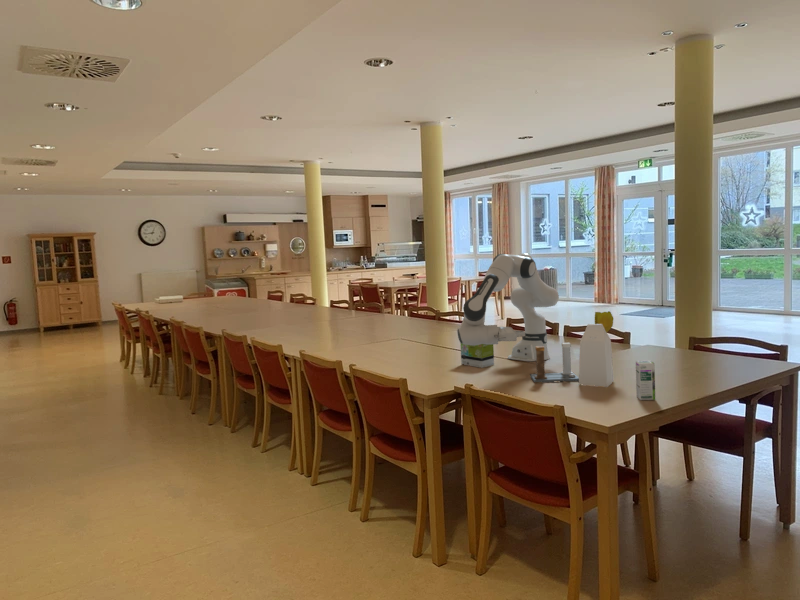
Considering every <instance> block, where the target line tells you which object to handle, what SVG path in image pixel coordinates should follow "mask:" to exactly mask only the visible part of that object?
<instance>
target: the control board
mask: <svg viewBox="0 0 800 600" xmlns="http://www.w3.org/2000/svg"><path fill="white" fill-rule="evenodd" d="M545 375H546V376H547V379H536V378H535V376H537V373H530V374H529V377H530V379H531V380H532V381H533V383H535V382H542V383H554V382H553V381H571V382H579V375H576V374H575V373H574V372H573V374H569V375H562V374H561V372H549V373H545ZM535 384H536V383H535Z"/></svg>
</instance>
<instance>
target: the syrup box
mask: <svg viewBox="0 0 800 600" xmlns="http://www.w3.org/2000/svg"><path fill="white" fill-rule="evenodd" d="M655 370H656V369H655V363H654V361H652V360H635V383H636V386H635V387H636V388H635V389H636V397H637V399H638V400H639V401H656V373H655V372H656V371H655Z"/></svg>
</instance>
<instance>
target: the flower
mask: <svg viewBox="0 0 800 600" xmlns="http://www.w3.org/2000/svg"><path fill="white" fill-rule="evenodd" d="M594 324H602V325H603V327H604V329H605V331H606V333H608V332H610V330H611V329H612V327H614V326H613V325H614V315H613V313H612V312H611V310H610V311H603V312H601V311H595V312H594Z"/></svg>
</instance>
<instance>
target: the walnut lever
mask: <svg viewBox="0 0 800 600" xmlns="http://www.w3.org/2000/svg"><path fill="white" fill-rule="evenodd" d="M535 347H536V361H535V362H536V374H537V376H535V378H536V379H547V376H546V375H545V360H544V346H535Z"/></svg>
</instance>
